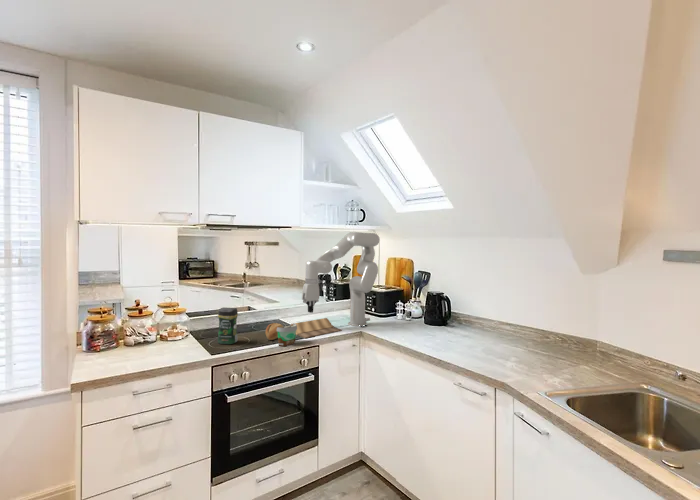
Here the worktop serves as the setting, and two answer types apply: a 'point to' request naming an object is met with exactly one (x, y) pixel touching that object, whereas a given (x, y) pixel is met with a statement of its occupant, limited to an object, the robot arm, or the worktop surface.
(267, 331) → the bread roll
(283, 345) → the food container
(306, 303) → the robot arm
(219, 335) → the coffee jar
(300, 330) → the oak board
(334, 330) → the walnut board
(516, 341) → the worktop surface
